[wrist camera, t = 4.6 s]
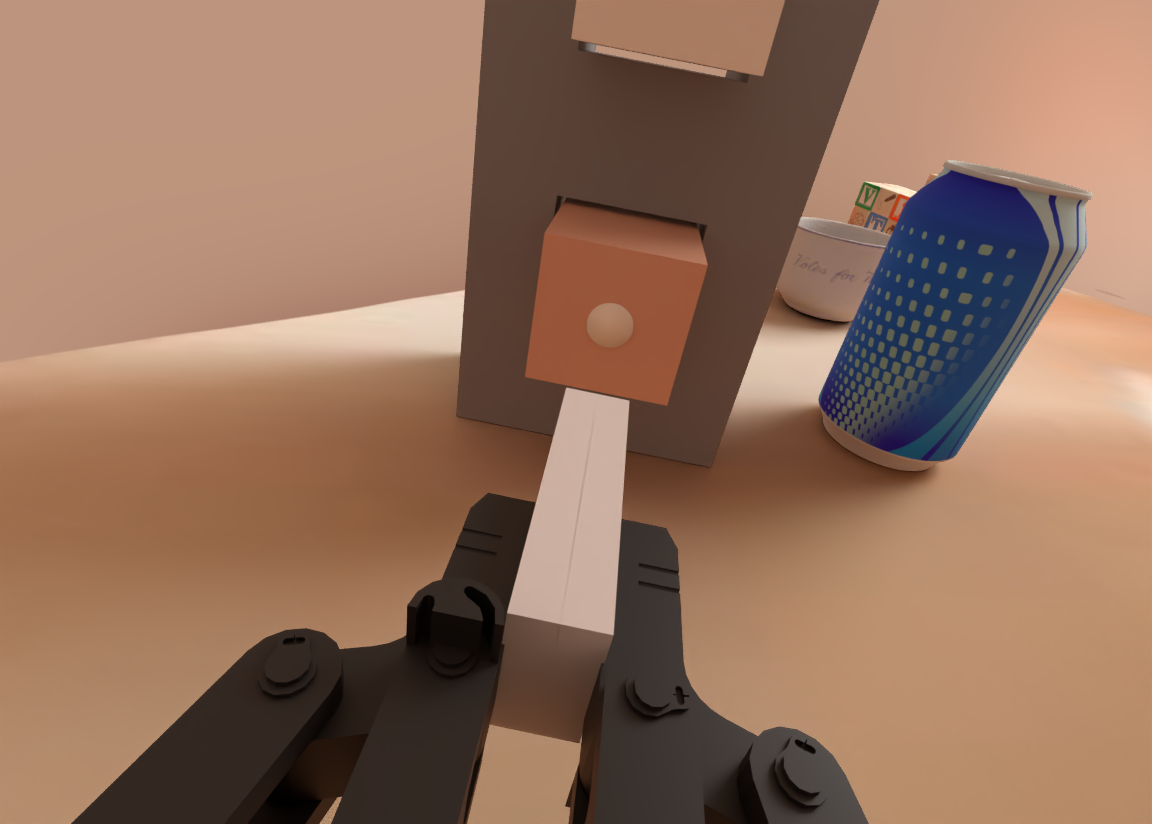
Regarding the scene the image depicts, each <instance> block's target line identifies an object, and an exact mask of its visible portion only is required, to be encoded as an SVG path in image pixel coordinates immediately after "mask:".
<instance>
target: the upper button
mask: <svg viewBox="0 0 1152 824" xmlns="http://www.w3.org/2000/svg"><path fill="white" fill-rule="evenodd" d="M784 2H785V0H576V7H575V15H574V22H573V29H572V37H571V39H575V40H579V41H583V42H587V43H591V44H596V45H601V46H606V47H611V48H617V49H621V50H626V51H632V52H637V53H642V54H648V55H652V56H657V57H662V58H668V59H672V60H677V61H683V62H688V63H693V64H698V65H703V66H709V67H713V68H718V69H724V70H728V71H734V72H740V73H746V74H752V75H758V76H763V74H764V71H765V67H766V64H767V61H768V57H769V54H770V50H771V47H772V43H773V40H774V37H775V33H776V30H777V26H778V23H779V19H780V16H781V13H782V9H783V6H784Z"/></svg>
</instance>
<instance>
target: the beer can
mask: <svg viewBox="0 0 1152 824" xmlns="http://www.w3.org/2000/svg"><path fill="white" fill-rule="evenodd" d="M943 166H944V169H943V171H942V172H941V173H940V174H939V175H937V176H936V177H935V178H934V179H933V180H931V181H930V182H929V183H928V184H926V185H925V186H924V187H923V188H922V189H920V190H919V191H918V192H916V193H915V194H914V195H913V196H912V197H910V198H909V200H908V201H907V202H906V204H905V206H904V208H903V210H902V212H901V215H900V217H899V219H898V221H897V224H896V226H895V228H894V230H893V232H892V235H891V237H890V239H889V241H888V244H887V246H886V248H885V250H884V252H883V255H882V257H881V259H880V261H879V264H878V266H877V268H876V270H875V273H874V275H873V277H872V279H871V281H870V284H869V286H868V288H867V290H866V293H865V295H864V297H863V299H862V302H861V304H860V306H859V308H858V310H857V313H856V315H855V317H854V319H853V322H852V324H851V326H850V328H849V331H848V333H847V335H846V337H845V339H844V342H843V344H842V346H841V348H840V351H839V353H838V355H837V357H836V360H835V362H834V364H833V366H832V368H831V371H830V373H829V375H828V377H827V380H826V382H825V384H824V386H823V389H822V391H821V393H820V395H819V406H820V408H821V411H822V413H823V424H824V427H825V428H826V430H827V432H828V433H829V434H830V435H831V436H832V437H833V438H834V439H835V440H836V441H837V442H838V443H839V444H841V445H842V446H843V447H845V448H846V449H848V450H849V451H851V452H853V453H854V454H856V455H858V456H860V457H862V458H864V459H866V460H868V461H871V462H873V463H876V464H879V465H882V466H885V467H888V468H892V469H897V470H903V471H922V470H925V469H928V468H930V467H932V466H933V465H934V464H936V463H939V462H944V461H947V460H950V459H952V458H953V457H954V456H955V455H956V454H957V453H958V451H959V450H960V448H961V447H962V445H963V443H964V442H965V440H966V439H967V437H968V436H969V434H970V432H971V431H972V429H973V428H974V426H975V424H976V423H977V421H978V420H979V418H980V417H981V415H982V413H983V412H984V410H985V409H986V407H987V405H988V404H989V402H990V401H991V399H992V397H993V396H994V394H995V393H996V391H997V390H998V388H999V386H1000V385H1001V383H1002V382H1003V380H1004V378H1005V377H1006V375H1007V374H1008V372H1009V371H1010V369H1011V367H1012V366H1013V364H1014V363H1015V361H1016V359H1017V358H1018V356H1019V355H1020V353H1021V352H1022V350H1023V348H1024V347H1025V345H1026V344H1027V342H1028V340H1029V339H1030V337H1031V336H1032V334H1033V333H1034V331H1035V329H1036V328H1037V326H1038V325H1039V323H1040V321H1041V320H1042V318H1043V317H1044V315H1045V313H1046V312H1047V310H1048V309H1049V307H1050V306H1051V304H1052V302H1053V301H1054V299H1055V298H1056V296H1057V294H1058V293H1059V291H1060V290H1061V288H1062V287H1063V285H1064V283H1065V282H1066V280H1067V279H1068V277H1069V275H1070V274H1071V272H1072V271H1073V269H1074V267H1075V266H1076V264H1077V263H1078V261H1079V260H1080V258H1081V256H1082V255H1083V253H1084V251H1085V249H1086V246H1087V234H1086V216H1085V204H1086V203H1087V201H1088V200H1091V198H1092V197H1093V194H1092V193H1091V192H1089V191H1086V190H1083V189H1079V188H1076V187H1073V186H1069V185H1066V184H1061V183H1058V182H1054V181H1050V180H1046V179H1042V178H1038V177H1034V176H1029V175H1025V174H1020V173H1016V172H1011V171H1007V170H1002V169H998V168H992V167H988V166H983V165H978V164H972V163H967V162H961V161H953V160H947V161H945V163H944V165H943Z"/></svg>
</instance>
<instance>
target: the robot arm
mask: <svg viewBox="0 0 1152 824" xmlns="http://www.w3.org/2000/svg"><path fill="white" fill-rule="evenodd" d="M628 414H629V400H624V399H619V398H614V397H609V396H605V395H600V394H595V393H590V392H585V391H580V390H576V389H571V388H566V391H565V395H564V399H563V402H562V406H561V410H560V414H559V417H558V421H557V425H556V429H555V433H554V436H553V440H552V444H551V448H550V452H549V455H548V459H547V463H546V467H545V471H544V474H543V478H542V482H541V486H540V490H539V493H538V497H537V501H536V503H535V502H530V501H525V500H520V499H515V498H511V497H506V496H501V495H496V494H491V493H488V494H486V495H485V496H484V497H483V498H482V499H481V500H479V501H478V502H477V503H476V504H475V505H474V506H473V507H471V509H470V511H469V514H468V516H467V519H466V521H465V524H464V526H463V529H462V532H461V533H460V536H459V538H458V541H457V543H456V547H455V549H454V551H453V553H452V556H451V558H450V560H449V563H448V565H447V568H446V570H445V573H444V575H443V578H442V580H439V581H435V582H432V583H430V584H429V585H427V586H426V587H424V588H423V589H421V590H419V591H418V592H417V593H416V594H415V596H414V597H413V599H412V600H411V601H410V603H409V604H408V605H407V634H406V636H404V637H403V638H401V639H398V640H396V641H393V642H391V643H388V644H383V645H377V646H371V647H360V648H349V649H339V647H338V645H337V643H336V642H335V641H334V640H332V639H331V638H330V637H328V636H327V635H326V634H325V633H323V632H319V631H315V630H311V629H307V628H305V629H293V630H285V631H282V632H280V633H277V634H274V635H272V636H269V637H266V638H265V639H263V640H262V641H261V642H259V643H258V644H256V645H255V646H254V647H252V648H251V649H250V650H248V651H247V652H246V653H245V654H244V655H243V656H242V657H241V658H240V659H239V660H238V661H237V662H236V663H235V664H234V665H233V666H232V667H231V668H230V669H229V670H228V671H227V672H226V673H225V674H224V675H223V676H222V677H221V678H219V679H218V680H217V681H216V682H215V683H214V684H213V685H212V686H211V687H210V688H209V689H208V690H207V691H206V692H205V693H204V694H203V695H202V696H201V697H200V698H199V699H198V700H197V701H196V702H195V703H194V704H193V705H192V706H191V707H190V708H189V709H188V710H187V711H186V712H185V713H184V714H183V715H182V716H181V717H180V718H179V719H178V720H177V721H176V722H175V723H174V724H172V725H171V726H170V727H169V728H168V729H167V730H166V731H165V732H164V733H163V734H162V735H161V736H160V737H159V738H158V739H157V740H156V741H155V742H154V743H153V744H152V745H151V746H150V747H149V748H148V749H147V750H146V751H145V752H144V753H143V754H142V755H141V756H140V757H139V758H138V759H137V760H136V761H135V762H134V763H133V764H132V765H131V766H130V767H129V768H128V769H127V770H125V771H124V772H123V773H122V774H121V775H120V776H119V777H118V778H117V779H116V780H115V781H114V782H113V783H112V784H111V785H110V786H109V787H108V788H107V789H106V790H105V791H104V792H103V793H102V794H101V795H100V796H99V797H98V798H97V799H96V800H95V801H94V802H93V803H92V804H91V805H90V806H89V807H88V808H87V809H86V810H85V811H84V812H83V813H82V814H81V815H79V816H78V817H77V818H76V819H75V820H74V821H73V822H72V823H71V824H319V823H320V822H321V820H322V819H323V817H324V816H325V815H326V813H327V812H328V810H329V809H330V807H331V806H332V804H333V803H334V801H335V800H336V798H337V797H342V796H343V797H342V799H341V801H340V804H339V806H338V809H337V811H336V813H335V816H334V818H333V821H332V823H331V824H467V821H468V817H469V813H470V809H471V804H472V800H473V796H474V792H475V788H476V784H477V779H478V775H479V771H480V767H481V763H482V757H483V751H484V745H485V741H486V737H487V733H488V729H489V724H490V725H495V726H500V727H504V728H509V729H514V730H519V731H523V732H528V733H533V734H538V735H542V736H547V737H552V738H557V739H561V740H566V741H571V742H576V743H579V742H580V739H581V736H582V743H581V752H580V762H579V765H578V768H577V771H576V774H575V777H574V780H573V783H572V786H571V789H570V793H569V796H568V799H567V802H566V805H565V806H566V807H570V816H569V824H869V823H868V821H867V819H866V817H865V815H864V813H863V811H862V809H861V807H860V805H859V802H858V800H857V798H856V796H855V794H854V792H853V790H852V788H851V786H850V784H849V782H848V779H847V777H846V775H845V774H844V772H843V770H842V769H841V767H840V766H839V764H838V763H837V761H836V760H835V758H834V757H833V755H832V754H831V753H830V752H829V751H828V750H826V749H825V748H824V747H823V746H822V745H821V744H820V743H819V742H818V741H817V740H816V739H814V738H812V737H810V736H808V735H806V734H804V733H802V732H801V731H799V730H796V729H790V728H785V727H776V728H772V729H768V730H765V731H763V732H762V733H761V734H760V735H759V736H756V735H754V734H753V733H751V732H749V731H747V730H745V729H743V728H741V727H740V726H738V725H736V724H734V723H732V722H730V721H729V720H727V719H725V718H723V717H722V716H720V715H719V714H717V713H716V712H714V711H713V710H711V709H710V708H709V707H708V706H707V705H706V704H705V703H704V702H703V701H702V700H701V699H700V698H699V697H698V695H697V694H696V692H695V691H694V690H693V688H692V687H691V685H690V682H689V680H688V678H687V676H686V673H685V667H684V662H683V643H682V623H681V604H680V594H679V590H680V585H679V575H678V572H679V566H678V549H677V547H676V545H675V544H674V542H673V540H672V538H671V536H670V534H669V533H668V531H667V529H666V528H662V527H658V526H653V525H648V524H643V523H638V522H634V521H629V520H624V519H621V517H622V502H623V488H624V473H625V458H626V443H627V428H628Z"/></svg>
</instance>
